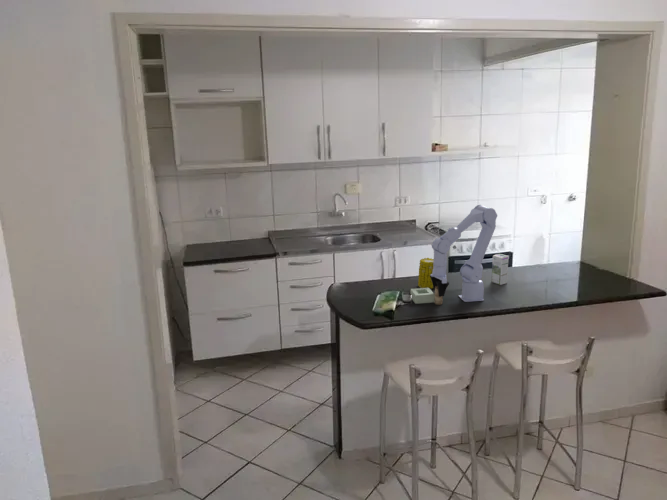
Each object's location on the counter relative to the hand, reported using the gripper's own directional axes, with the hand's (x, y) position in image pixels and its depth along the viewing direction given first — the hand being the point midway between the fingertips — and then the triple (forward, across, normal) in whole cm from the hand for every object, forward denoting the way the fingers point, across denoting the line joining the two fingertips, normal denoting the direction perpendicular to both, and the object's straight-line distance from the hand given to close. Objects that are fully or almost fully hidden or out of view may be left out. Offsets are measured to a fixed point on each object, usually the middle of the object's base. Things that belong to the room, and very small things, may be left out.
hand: (438, 293), depth 242 cm
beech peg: (+5, 0, 0) cm, 5 cm away
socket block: (+5, -6, -6) cm, 10 cm away
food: (+5, -23, +2) cm, 24 cm away
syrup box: (+5, -22, +39) cm, 45 cm away
